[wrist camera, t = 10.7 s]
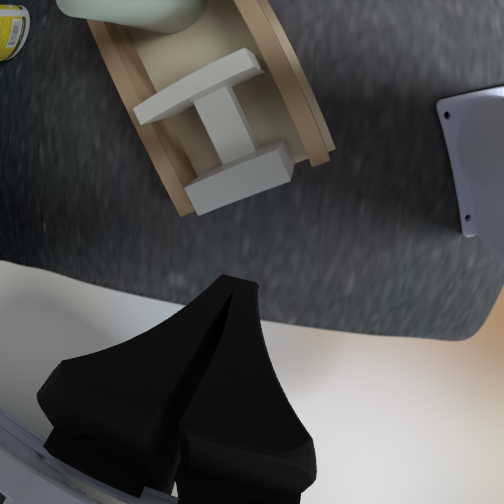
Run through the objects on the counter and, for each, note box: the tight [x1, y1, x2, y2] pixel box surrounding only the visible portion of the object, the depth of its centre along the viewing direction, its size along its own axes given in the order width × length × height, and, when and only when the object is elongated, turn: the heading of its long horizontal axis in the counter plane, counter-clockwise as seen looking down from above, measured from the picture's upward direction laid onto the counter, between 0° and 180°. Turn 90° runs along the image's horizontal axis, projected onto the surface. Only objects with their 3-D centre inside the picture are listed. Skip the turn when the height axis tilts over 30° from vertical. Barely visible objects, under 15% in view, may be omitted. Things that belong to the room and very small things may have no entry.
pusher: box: [133, 48, 295, 216], centre depth 16 cm, size 6×6×4 cm
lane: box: [86, 0, 336, 217], centre depth 14 cm, size 22×10×4 cm, turn 24°
